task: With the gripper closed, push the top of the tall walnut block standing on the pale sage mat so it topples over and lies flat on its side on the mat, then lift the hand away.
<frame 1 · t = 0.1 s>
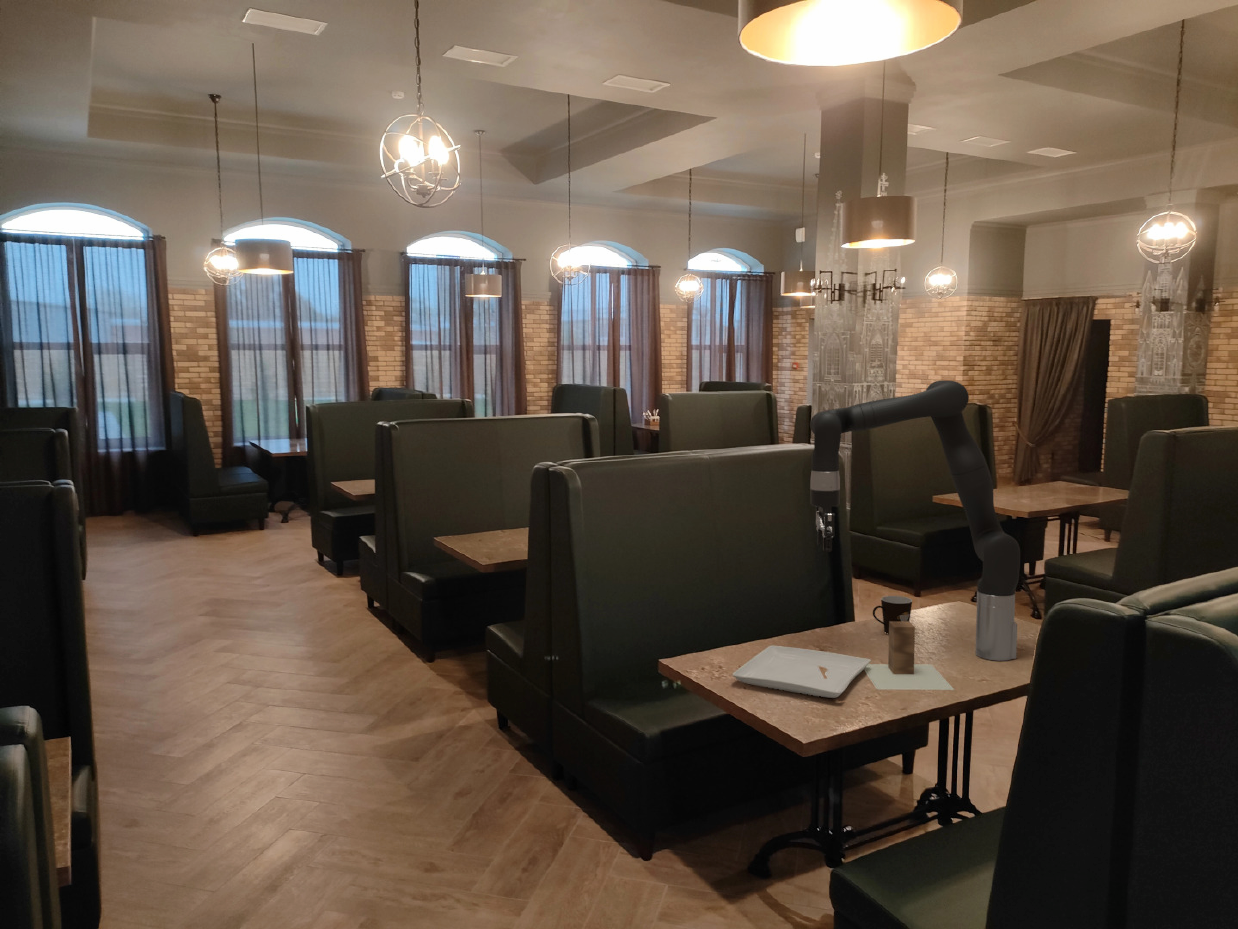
hand: (824, 548, 229), 29 cm above the table, tool pointing down, fingers open, 8 cm apart
square plate: (802, 680, 215), on the table
walnut block: (900, 671, 217), point 1 cm above the table, touching sage mat
sage mat: (905, 678, 214), on the table
coffee mug: (890, 634, 251), on the table
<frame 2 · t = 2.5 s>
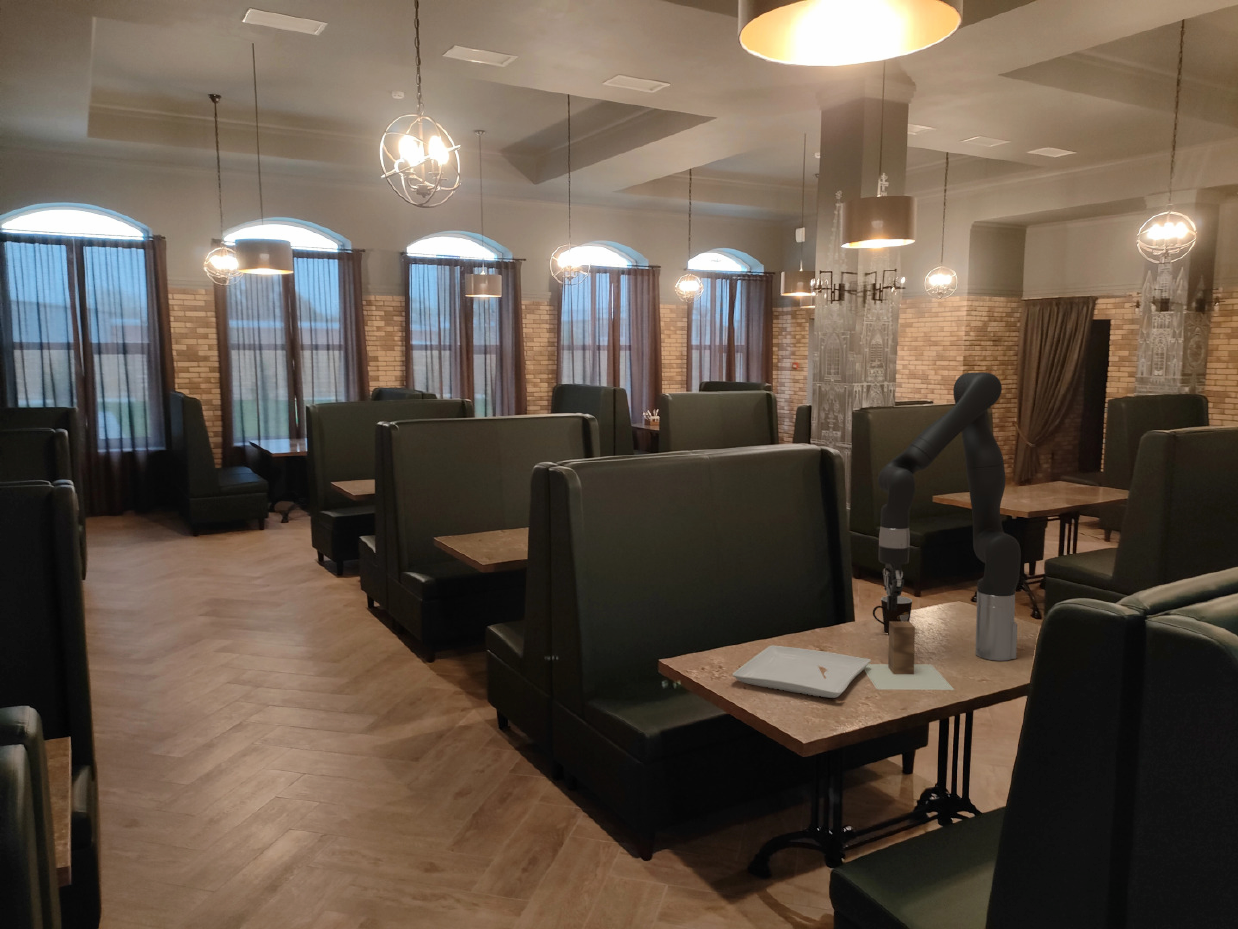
hand: (892, 609, 225), 14 cm above the table, tool pointing down, fingers closed
nothing on the table moved.
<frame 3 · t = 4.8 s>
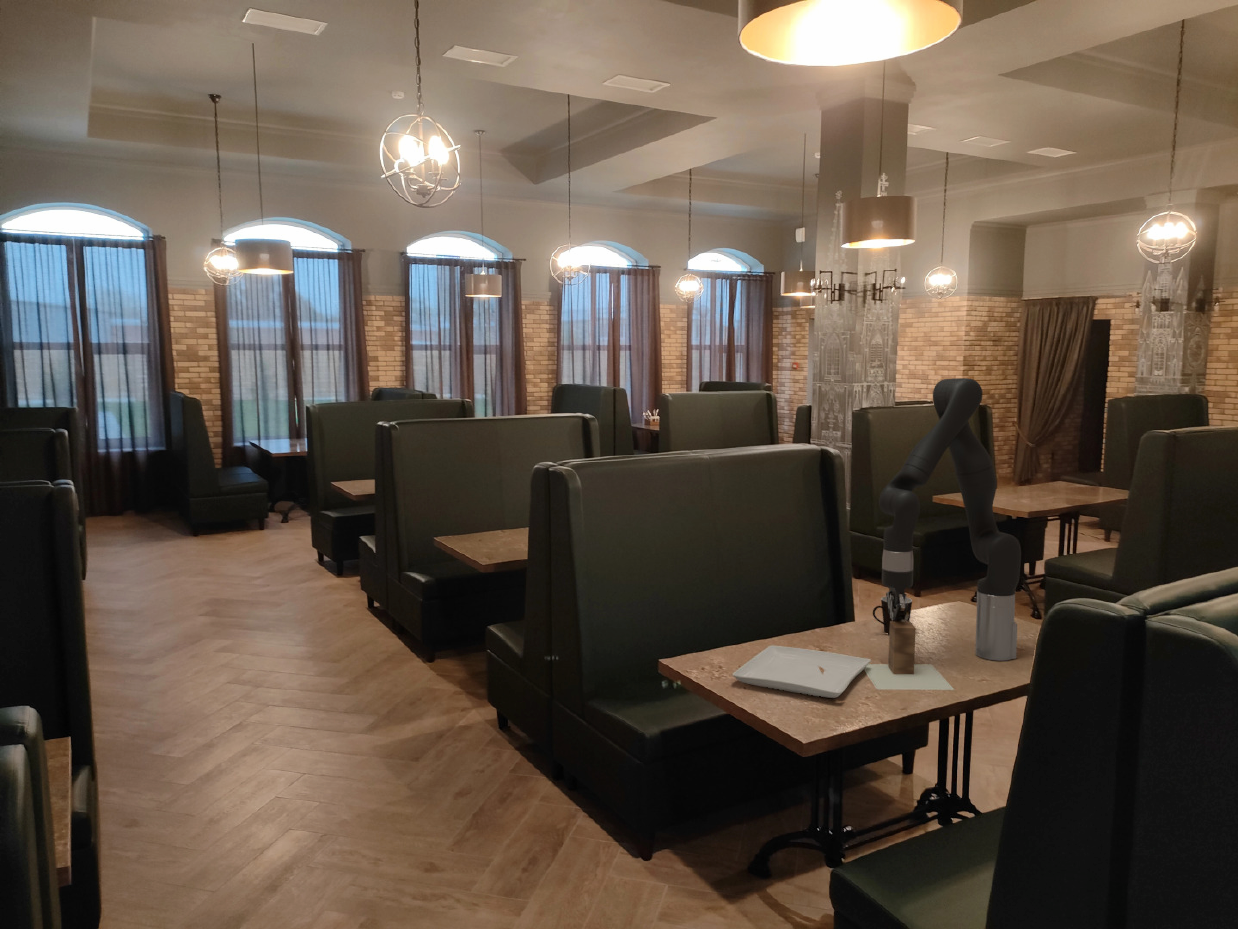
hand: (896, 633, 221), 9 cm above the table, tool pointing down, fingers closed
walnut block: (900, 670, 217), point 1 cm above the table, touching gripper, sage mat
everything else where it was.
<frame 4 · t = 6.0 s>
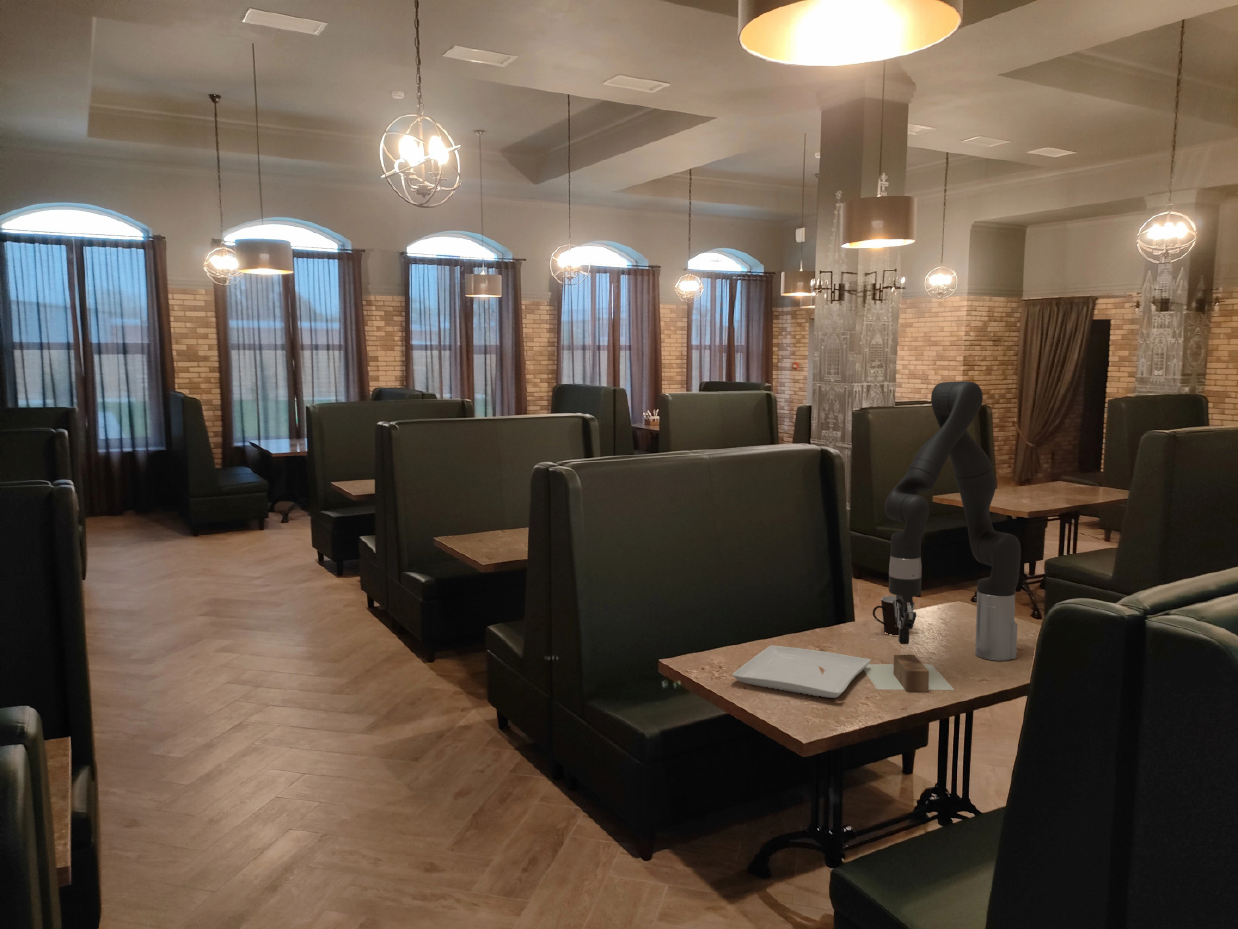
hand: (903, 643, 214), 9 cm above the table, tool pointing down, fingers closed
walnut block: (903, 664, 215), point 3 cm above the table, tilted 90°, touching sage mat
everything else where it was.
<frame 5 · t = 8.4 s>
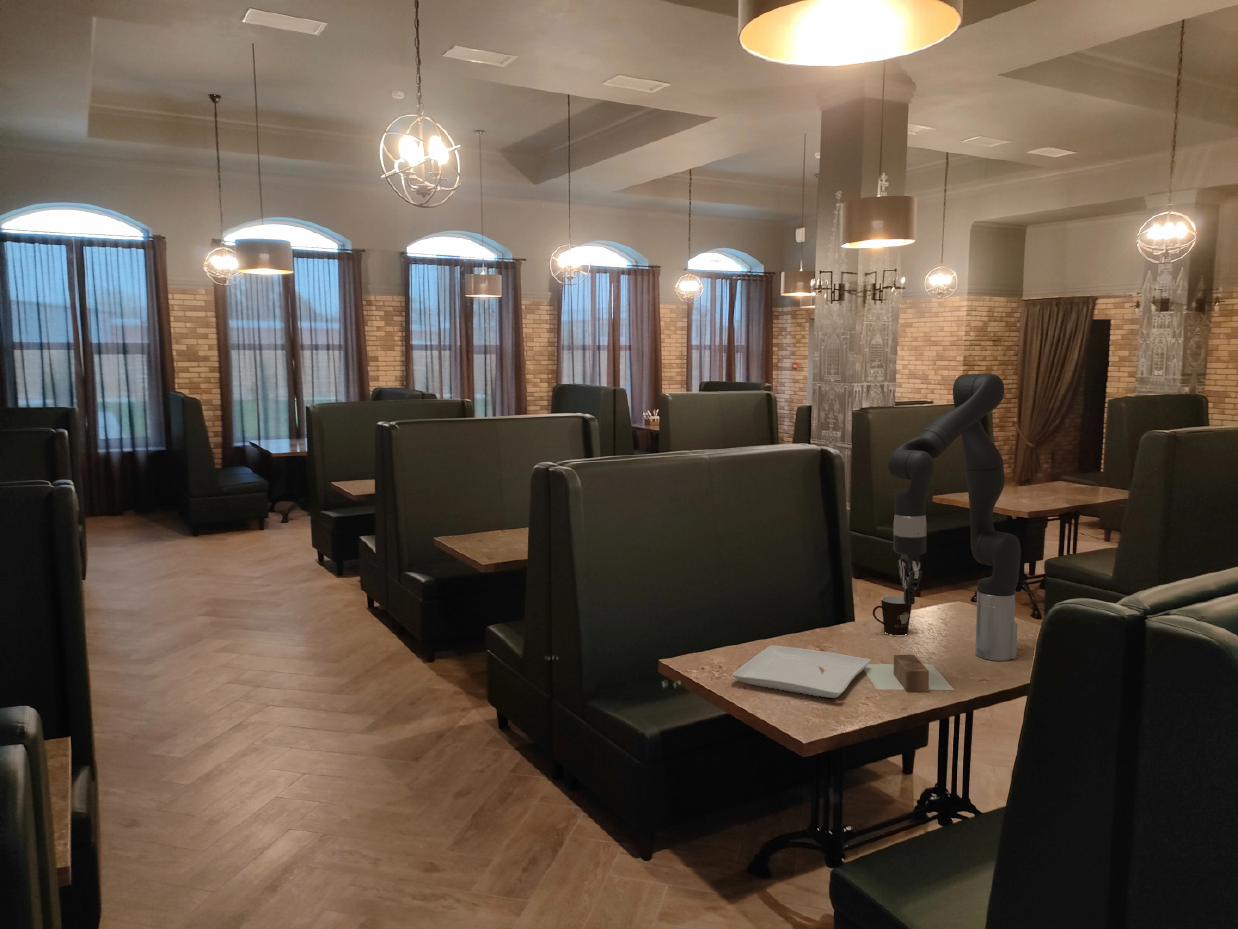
hand: (909, 603, 210), 20 cm above the table, tool pointing down, fingers closed
nothing on the table moved.
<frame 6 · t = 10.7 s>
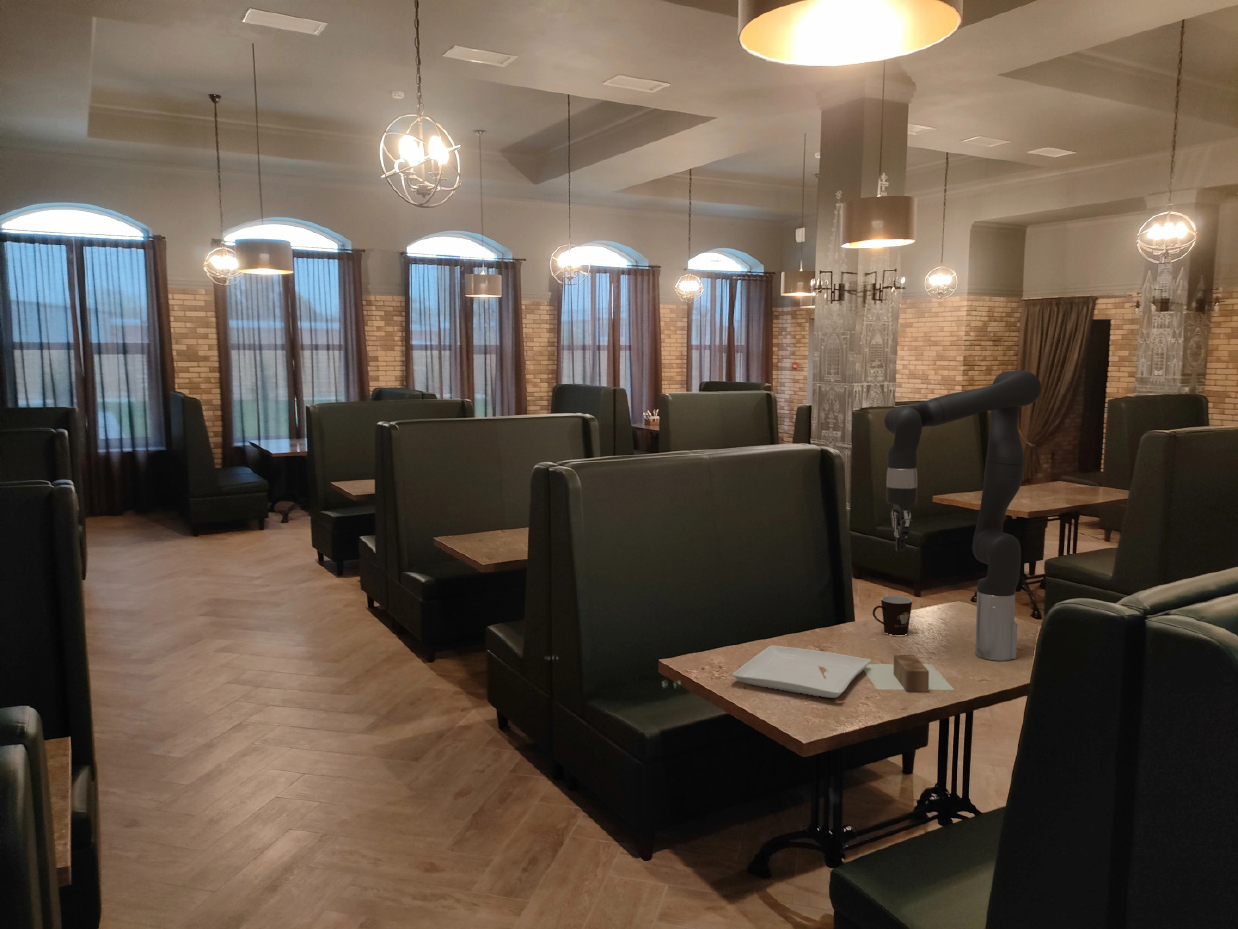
hand: (900, 551, 224), 29 cm above the table, tool pointing down, fingers closed
nothing on the table moved.
at the end: walnut block tilted 90°; walnut block inside the target area (1.0 cm from its centre), point 3.1 cm above the table; the gripper is holding nothing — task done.
